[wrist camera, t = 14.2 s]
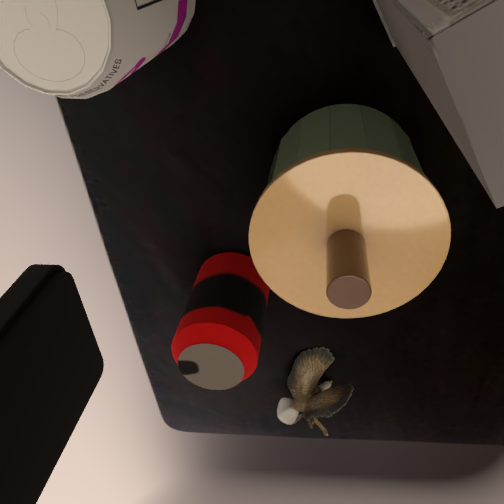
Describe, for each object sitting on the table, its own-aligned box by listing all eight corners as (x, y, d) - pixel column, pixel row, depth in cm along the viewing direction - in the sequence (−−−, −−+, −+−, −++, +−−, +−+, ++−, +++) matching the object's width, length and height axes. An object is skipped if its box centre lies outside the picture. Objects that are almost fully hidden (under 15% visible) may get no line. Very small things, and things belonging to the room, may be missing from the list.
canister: (346, 70, 35) (352, 114, 26) (444, 172, 38) (478, 240, 30) (245, 173, 41) (223, 237, 32) (338, 253, 44) (341, 329, 36)
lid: (352, 98, 26) (358, 137, 21) (489, 236, 30) (522, 298, 25) (213, 233, 33) (192, 288, 28) (340, 332, 37) (342, 397, 32)
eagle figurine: (346, 413, 56) (369, 378, 50) (311, 455, 52) (332, 423, 45) (298, 371, 59) (314, 333, 53) (262, 409, 55) (274, 372, 48)
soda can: (191, 252, 47) (155, 336, 37) (264, 247, 45) (246, 333, 35) (208, 308, 51) (179, 397, 41) (275, 305, 49) (262, 396, 39)
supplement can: (202, 49, 35) (137, 109, 23) (101, 47, 36) (-13, 104, 24) (194, -81, 31) (106, -91, 19) (78, -79, 32) (-78, -87, 20)
